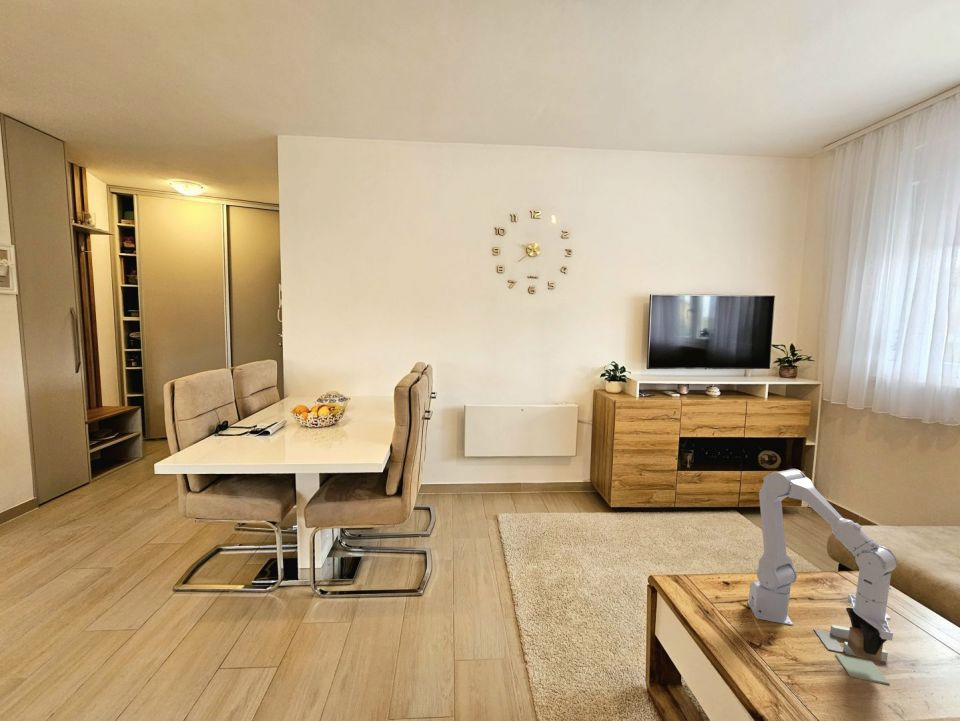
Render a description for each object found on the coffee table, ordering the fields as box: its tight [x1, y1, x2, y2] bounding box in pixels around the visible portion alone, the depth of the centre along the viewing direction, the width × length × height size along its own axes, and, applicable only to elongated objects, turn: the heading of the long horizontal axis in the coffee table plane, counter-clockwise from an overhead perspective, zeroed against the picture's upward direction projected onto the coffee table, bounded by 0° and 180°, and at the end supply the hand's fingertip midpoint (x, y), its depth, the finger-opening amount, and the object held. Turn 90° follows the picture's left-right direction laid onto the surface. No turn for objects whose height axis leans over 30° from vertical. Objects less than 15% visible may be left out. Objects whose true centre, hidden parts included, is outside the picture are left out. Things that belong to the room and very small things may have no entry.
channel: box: [813, 624, 889, 663], centre depth 117 cm, size 13×8×2 cm, turn 75°
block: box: [847, 626, 884, 662], centre depth 108 cm, size 5×4×5 cm
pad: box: [834, 653, 890, 686], centre depth 109 cm, size 8×7×1 cm
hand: (864, 646), depth 108 cm, fingers closed on block, 4 cm apart
